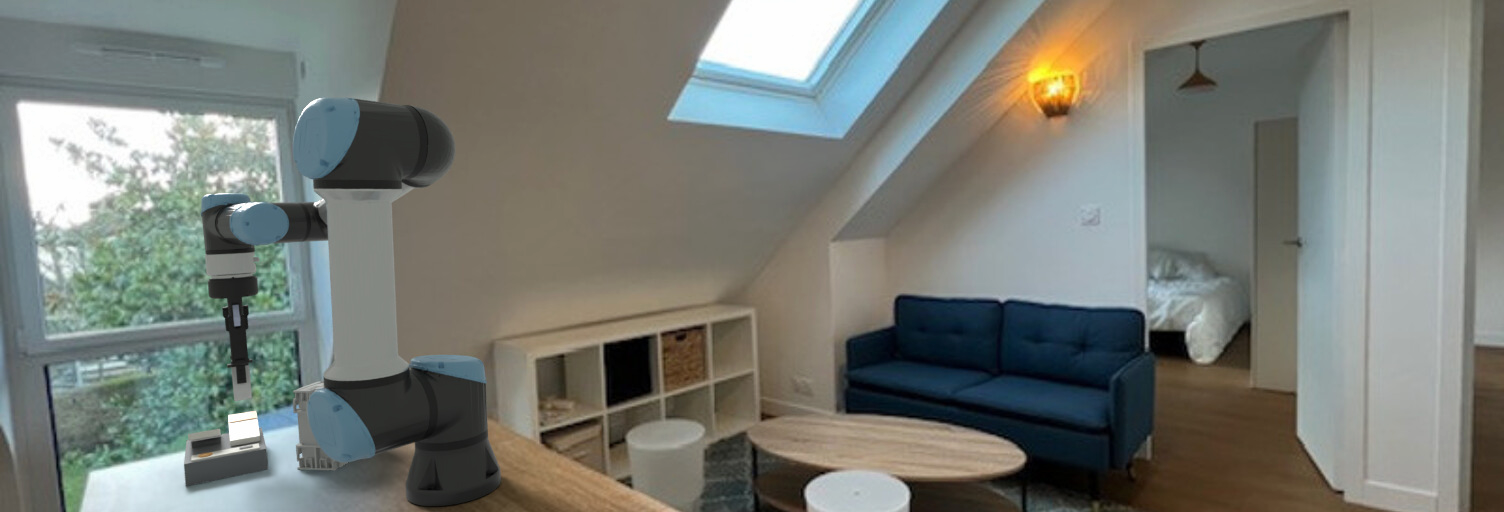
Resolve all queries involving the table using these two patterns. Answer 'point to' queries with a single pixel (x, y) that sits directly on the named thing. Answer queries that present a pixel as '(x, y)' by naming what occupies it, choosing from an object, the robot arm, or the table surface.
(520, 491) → the table surface
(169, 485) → the table surface
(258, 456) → the switch unit
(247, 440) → the rocker right
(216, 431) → the rocker left
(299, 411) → the circuit breaker
